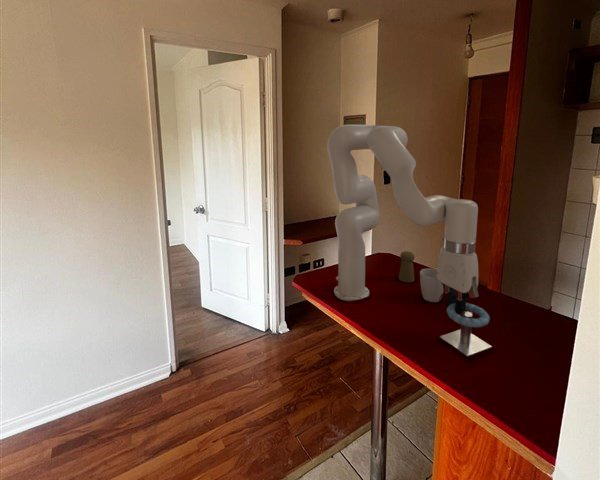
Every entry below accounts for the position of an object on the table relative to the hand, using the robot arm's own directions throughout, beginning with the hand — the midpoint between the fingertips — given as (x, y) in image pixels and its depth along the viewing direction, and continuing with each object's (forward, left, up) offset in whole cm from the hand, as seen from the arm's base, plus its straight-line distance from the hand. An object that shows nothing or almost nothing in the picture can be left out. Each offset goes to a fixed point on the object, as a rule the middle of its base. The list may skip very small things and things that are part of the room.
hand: (455, 309), depth 89 cm
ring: (+4, 0, +1) cm, 4 cm away
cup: (-18, +10, -9) cm, 23 cm away
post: (+4, 0, -9) cm, 9 cm away
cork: (-35, +14, -9) cm, 39 cm away
